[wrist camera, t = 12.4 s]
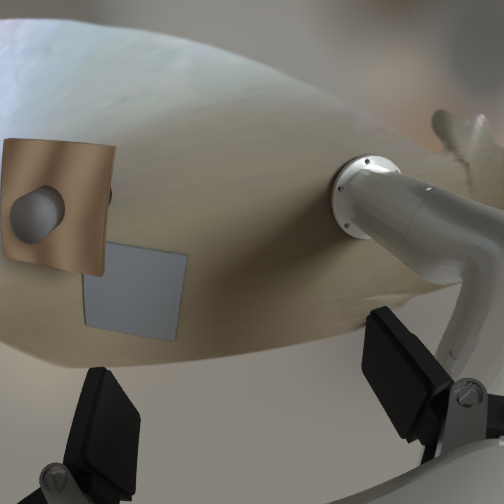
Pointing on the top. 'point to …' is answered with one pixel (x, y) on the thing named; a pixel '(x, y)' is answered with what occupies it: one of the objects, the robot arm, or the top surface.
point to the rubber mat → (136, 292)
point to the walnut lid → (56, 203)
